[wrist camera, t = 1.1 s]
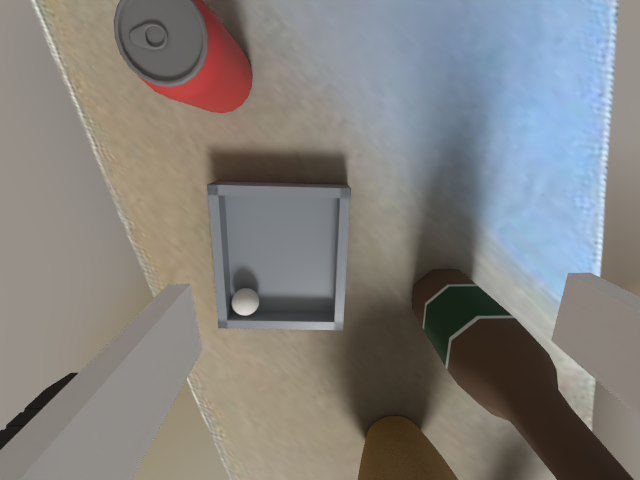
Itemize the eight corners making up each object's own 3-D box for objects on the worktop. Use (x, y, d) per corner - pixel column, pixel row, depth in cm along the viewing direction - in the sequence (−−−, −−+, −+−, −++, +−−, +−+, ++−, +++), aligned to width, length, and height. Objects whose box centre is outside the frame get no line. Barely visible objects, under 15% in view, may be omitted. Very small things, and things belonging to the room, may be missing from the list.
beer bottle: (400, 280, 37) (544, 507, 14) (463, 255, 36) (729, 453, 13) (419, 332, 39) (572, 604, 16) (480, 310, 38) (732, 563, 15)
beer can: (179, 39, 29) (90, -30, 17) (249, 36, 29) (207, -34, 17) (191, 115, 31) (118, 97, 19) (257, 112, 31) (222, 93, 19)
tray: (216, 181, 33) (207, 184, 30) (347, 184, 33) (350, 188, 30) (225, 314, 38) (218, 328, 35) (340, 315, 38) (342, 329, 35)
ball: (234, 283, 35) (227, 295, 33) (260, 283, 36) (256, 296, 33) (236, 306, 36) (229, 320, 33) (261, 307, 36) (257, 321, 34)
